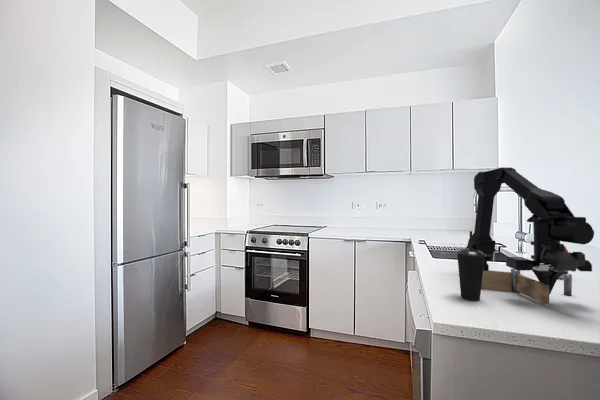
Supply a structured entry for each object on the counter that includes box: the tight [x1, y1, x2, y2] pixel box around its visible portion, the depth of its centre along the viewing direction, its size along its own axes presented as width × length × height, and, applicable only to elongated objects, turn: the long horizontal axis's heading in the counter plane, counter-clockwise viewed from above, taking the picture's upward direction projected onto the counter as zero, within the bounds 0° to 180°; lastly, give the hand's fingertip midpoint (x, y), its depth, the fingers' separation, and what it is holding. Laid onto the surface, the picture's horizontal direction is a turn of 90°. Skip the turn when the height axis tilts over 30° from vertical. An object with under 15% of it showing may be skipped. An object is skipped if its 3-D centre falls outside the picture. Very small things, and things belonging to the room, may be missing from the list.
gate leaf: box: [516, 273, 550, 306], centre depth 84 cm, size 12×1×5 cm, turn 174°
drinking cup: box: [455, 230, 486, 302], centre depth 85 cm, size 8×8×20 cm
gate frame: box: [481, 268, 573, 297], centre depth 92 cm, size 26×4×7 cm, turn 70°
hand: (547, 294), depth 81 cm, fingers closed
